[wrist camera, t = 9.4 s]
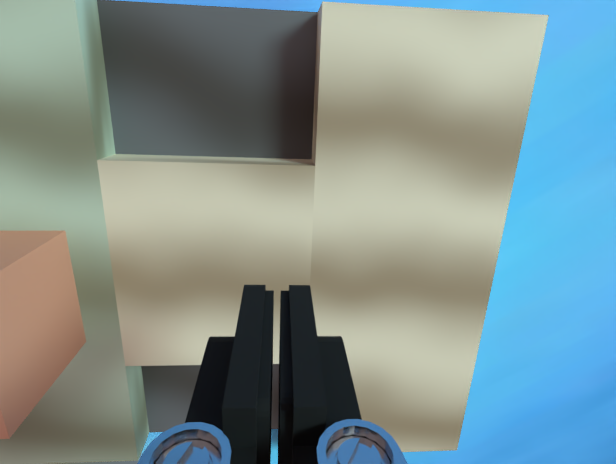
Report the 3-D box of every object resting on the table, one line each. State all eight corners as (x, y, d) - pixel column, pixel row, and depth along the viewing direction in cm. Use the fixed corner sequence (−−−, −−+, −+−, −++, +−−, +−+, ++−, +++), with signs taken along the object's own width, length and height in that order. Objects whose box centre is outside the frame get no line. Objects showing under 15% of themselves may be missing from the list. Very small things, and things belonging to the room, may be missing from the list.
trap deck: (-137, -13, 14) (-203, -30, 12) (515, 25, 16) (548, 15, 14) (-8, 431, 20) (-38, 466, 18) (441, 420, 22) (456, 450, 20)
